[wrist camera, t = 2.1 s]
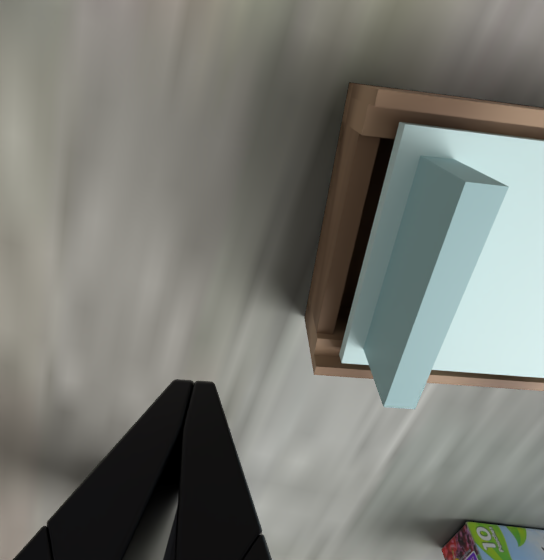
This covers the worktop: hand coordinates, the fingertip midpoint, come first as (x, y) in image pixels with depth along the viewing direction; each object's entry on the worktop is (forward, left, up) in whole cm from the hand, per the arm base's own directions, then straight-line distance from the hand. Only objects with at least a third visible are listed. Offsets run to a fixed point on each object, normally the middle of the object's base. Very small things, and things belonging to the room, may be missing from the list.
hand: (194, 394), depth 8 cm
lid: (+14, 0, -8) cm, 16 cm away
